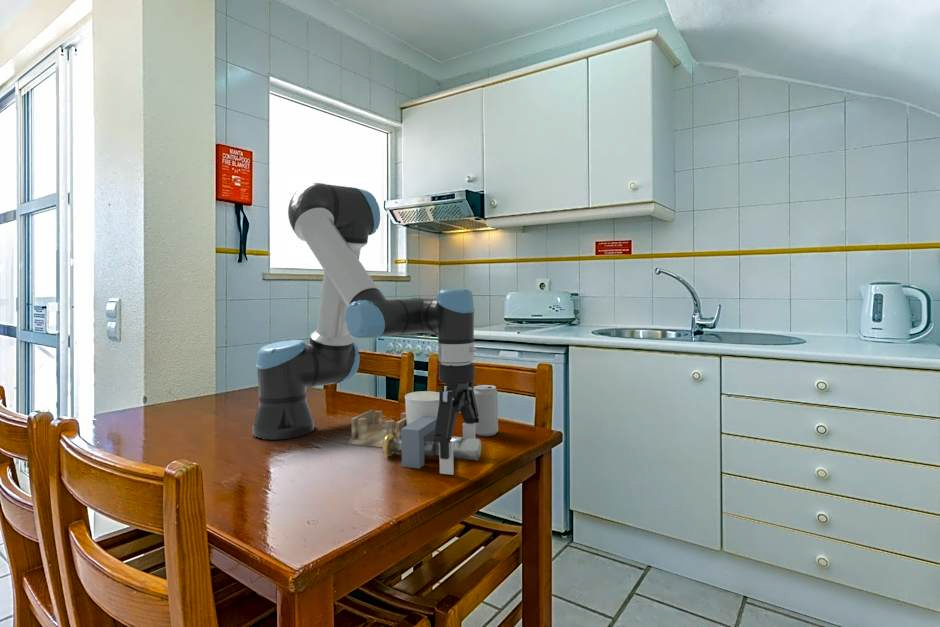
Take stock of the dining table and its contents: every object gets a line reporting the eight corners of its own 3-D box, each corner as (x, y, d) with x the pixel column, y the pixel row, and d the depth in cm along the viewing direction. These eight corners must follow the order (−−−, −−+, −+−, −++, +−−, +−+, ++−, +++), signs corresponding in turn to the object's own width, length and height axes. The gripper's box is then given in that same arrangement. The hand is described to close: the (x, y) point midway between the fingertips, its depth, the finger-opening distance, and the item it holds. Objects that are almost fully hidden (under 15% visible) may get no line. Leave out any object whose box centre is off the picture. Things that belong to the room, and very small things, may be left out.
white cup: (450, 441, 128) (451, 393, 127) (437, 453, 118) (439, 402, 118) (412, 437, 130) (413, 389, 130) (397, 449, 121) (398, 398, 120)
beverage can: (496, 437, 128) (495, 389, 127) (470, 436, 129) (469, 388, 128) (499, 430, 134) (499, 384, 133) (475, 429, 135) (474, 383, 135)
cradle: (349, 443, 125) (348, 419, 124) (370, 432, 134) (370, 409, 134) (400, 448, 120) (399, 423, 120) (418, 436, 130) (418, 412, 129)
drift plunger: (382, 457, 114) (382, 437, 113) (392, 451, 118) (391, 431, 118) (428, 463, 110) (428, 441, 110) (437, 456, 114) (436, 435, 114)
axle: (436, 436, 114) (444, 434, 118) (435, 457, 113) (442, 455, 117) (475, 439, 111) (481, 438, 115) (474, 461, 110) (480, 459, 114)
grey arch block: (402, 466, 109) (401, 428, 108) (423, 450, 119) (422, 416, 118) (419, 468, 107) (418, 430, 107) (439, 452, 117) (439, 417, 117)
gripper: (451, 373, 96) (454, 486, 97) (491, 355, 119) (492, 446, 121) (414, 371, 98) (417, 481, 100) (460, 354, 122) (462, 443, 123)
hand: (458, 462), depth 110 cm, fingers open, 13 cm apart
